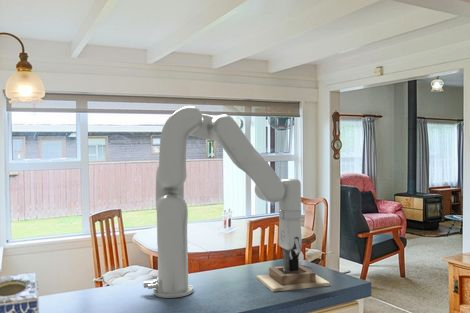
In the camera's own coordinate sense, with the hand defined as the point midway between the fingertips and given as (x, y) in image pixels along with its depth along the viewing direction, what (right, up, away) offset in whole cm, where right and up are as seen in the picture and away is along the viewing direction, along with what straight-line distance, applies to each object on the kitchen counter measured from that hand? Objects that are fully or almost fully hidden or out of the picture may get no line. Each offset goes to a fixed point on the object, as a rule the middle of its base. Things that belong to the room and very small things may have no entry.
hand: (291, 268), depth 146 cm
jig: (0, -5, 0) cm, 5 cm away
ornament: (+5, -5, +22) cm, 23 cm away
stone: (0, -3, 0) cm, 3 cm away
